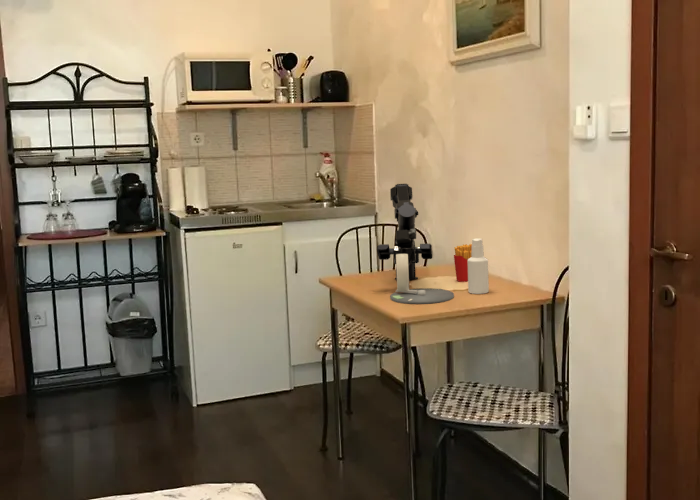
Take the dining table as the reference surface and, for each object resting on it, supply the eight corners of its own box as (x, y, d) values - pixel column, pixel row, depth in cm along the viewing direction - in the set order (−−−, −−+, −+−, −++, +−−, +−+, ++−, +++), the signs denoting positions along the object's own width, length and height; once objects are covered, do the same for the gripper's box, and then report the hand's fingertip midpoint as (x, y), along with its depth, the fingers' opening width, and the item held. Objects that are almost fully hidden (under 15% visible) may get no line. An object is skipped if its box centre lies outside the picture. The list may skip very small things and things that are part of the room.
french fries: (458, 282, 280) (457, 246, 278) (452, 280, 284) (451, 245, 282) (480, 279, 283) (480, 244, 281) (474, 277, 287) (474, 242, 285)
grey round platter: (429, 288, 273) (429, 281, 272) (466, 297, 254) (466, 290, 254) (378, 296, 262) (378, 290, 262) (413, 307, 244) (413, 300, 244)
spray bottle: (490, 290, 264) (489, 237, 261) (487, 294, 258) (485, 240, 255) (470, 289, 266) (468, 237, 264) (466, 294, 260) (465, 240, 257)
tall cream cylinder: (419, 291, 261) (418, 254, 259) (414, 294, 258) (412, 256, 256) (399, 290, 265) (398, 253, 263) (393, 292, 262) (392, 255, 260)
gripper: (376, 221, 268) (372, 258, 259) (430, 220, 264) (429, 257, 255) (380, 240, 276) (377, 277, 267) (433, 239, 273) (431, 276, 264)
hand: (403, 271), depth 263 cm, fingers closed, pressing on tall cream cylinder
